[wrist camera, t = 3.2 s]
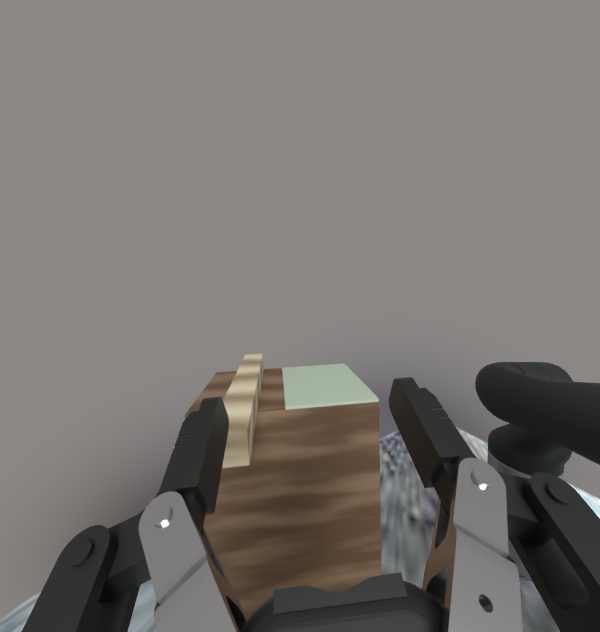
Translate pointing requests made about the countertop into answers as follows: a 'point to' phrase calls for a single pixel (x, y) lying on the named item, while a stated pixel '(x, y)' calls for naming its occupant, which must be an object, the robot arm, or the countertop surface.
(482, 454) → the countertop surface
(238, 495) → the walnut stand
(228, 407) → the beech baton
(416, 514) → the countertop surface
